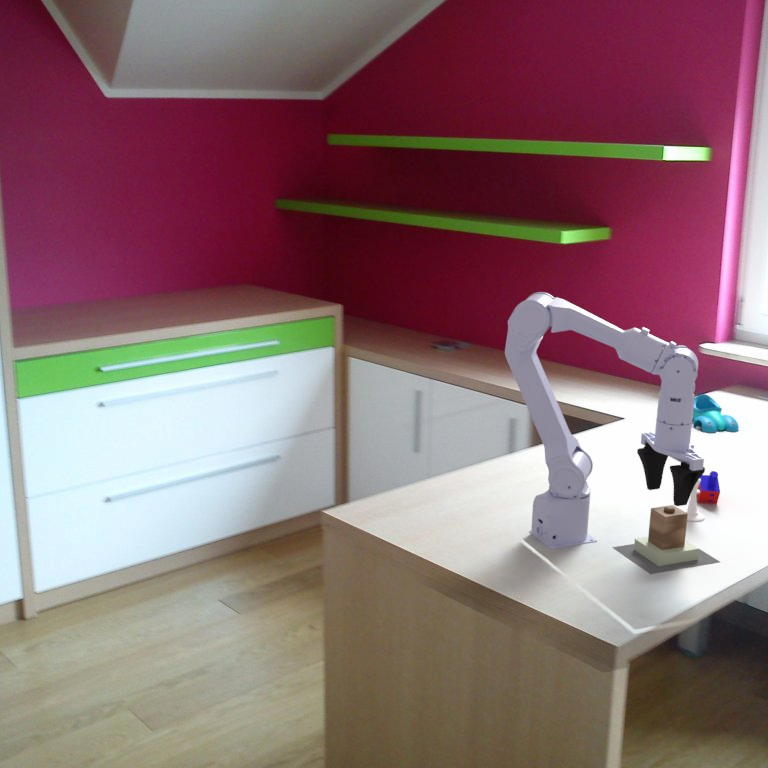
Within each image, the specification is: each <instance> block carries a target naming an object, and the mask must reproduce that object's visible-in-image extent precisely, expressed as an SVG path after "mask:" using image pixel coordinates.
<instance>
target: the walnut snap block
mask: <svg viewBox="0 0 768 768" xmlns="http://www.w3.org/2000/svg"><path fill="white" fill-rule="evenodd" d="M684 511H685V510H682V509H681V508H679V507H678V506H676V505H674V504H671V505H670V504H669V505H666V506H664V505H663V506H658V507H651V508H650V513H649V514H650V516H649V526H648V535H647V537H648V541H649V542H650V543H652V544H654V545H655V546H657V547H658V548H660V549H661V550H666V549H672V548H679V547H684V546H685V540H686V534H687V524H688V521H687V516H688V513H686V512H684Z"/></svg>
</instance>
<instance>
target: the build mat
mask: <svg viewBox="0 0 768 768" xmlns="http://www.w3.org/2000/svg"><path fill="white" fill-rule="evenodd" d="M612 548H613V549H614V550H615V551H617V552H618V553H619V554H622V555H623V556H624V557H625V558H627V559H629V560H630V561H631V562H632V563H634V564H635V565H637V566H638V567H640V568H642V570H643V571H645V572H647V573H648V574H649V575H654V574H658V573H659V574H660V573H666V572H671V571H676V570H681V569H683V570H684V569H689V568H694V567H699V566H700V567H701V566H704V565H706V566H707V565H712V564H717V563H721V561H720V560H718V559H716V558H715V557H714V556H712V555H710V554H709V553H707V552H705V550H702V549H700V548H699V556H698V560H692V561H686V562H681V563H675V564H669V565H663V566H657V565H656V564H654V563H653V562H652V561H650V560H649V559H647V558H646V557H644V556H643V555H641V554H640V553H638V552H637V551H635V550H634V543H633V544H625V545H618V546H613V547H612Z"/></svg>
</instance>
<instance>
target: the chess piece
mask: <svg viewBox="0 0 768 768" xmlns="http://www.w3.org/2000/svg"><path fill="white" fill-rule="evenodd" d="M700 482H701V479H700V478H699V479H698V481H697V482H696V484H695V486H694V488H693V490H692V492H691V494H690V497H689V500H688V506H687V508H686V509H685V510H683V511H684V512H686V513H688V516H687V522H695V523H698V522H699V523H700V522H703V521H704V520H705V518H706V517H705V515H704V514H703V513H702V512H699V510H698V506H697V504H698V503H697V502H698V500H697V496H696V494H699V493H700V490H698V489H697V488H698V486H699V484H700Z"/></svg>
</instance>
